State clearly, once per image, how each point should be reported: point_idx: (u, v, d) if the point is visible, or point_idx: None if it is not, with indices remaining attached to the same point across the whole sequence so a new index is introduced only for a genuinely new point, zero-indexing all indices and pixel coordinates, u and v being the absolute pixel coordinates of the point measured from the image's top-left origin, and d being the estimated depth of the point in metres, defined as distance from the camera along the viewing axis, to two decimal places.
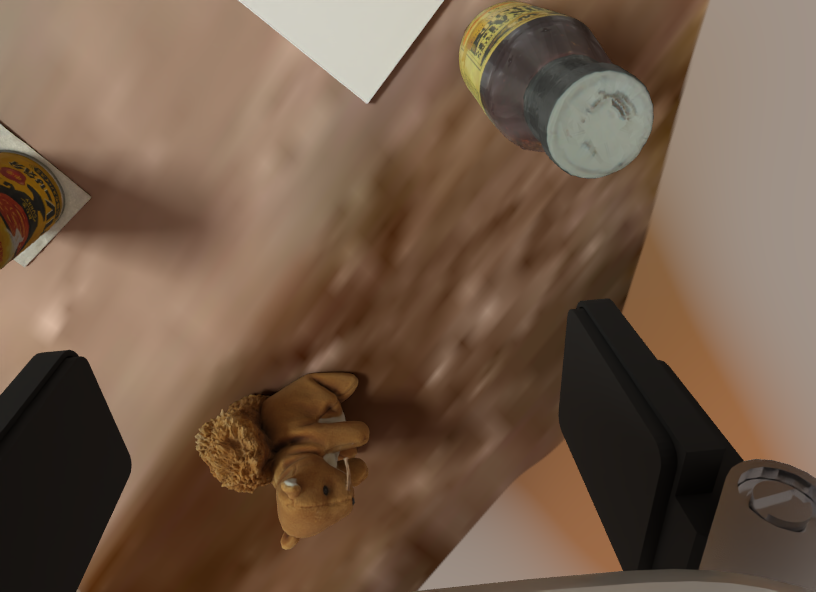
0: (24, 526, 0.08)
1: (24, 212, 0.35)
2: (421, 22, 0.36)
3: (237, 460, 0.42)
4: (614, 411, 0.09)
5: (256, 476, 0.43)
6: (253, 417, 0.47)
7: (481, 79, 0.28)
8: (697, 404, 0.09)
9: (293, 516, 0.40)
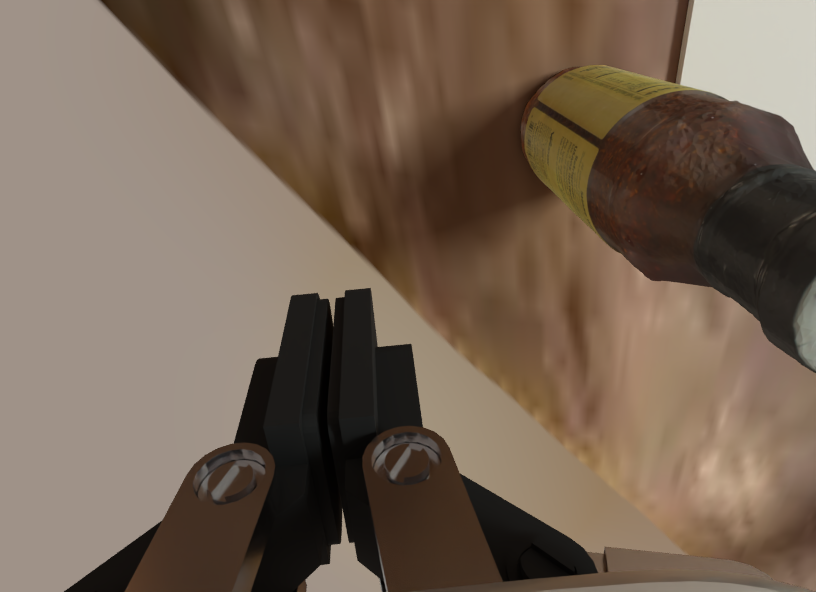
0: (328, 435, 0.09)
1: None
2: (687, 77, 0.28)
3: None
4: None
5: None
6: None
7: None
8: (415, 382, 0.10)
9: None
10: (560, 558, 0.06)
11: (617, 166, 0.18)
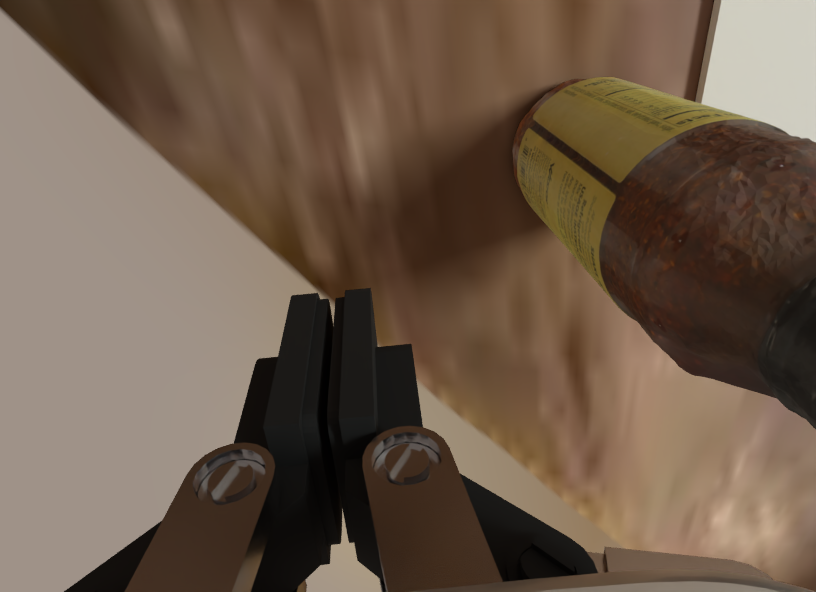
0: (328, 435, 0.09)
1: None
2: (710, 90, 0.23)
3: None
4: None
5: None
6: None
7: None
8: (414, 382, 0.10)
9: None
10: (560, 558, 0.06)
11: (644, 223, 0.13)
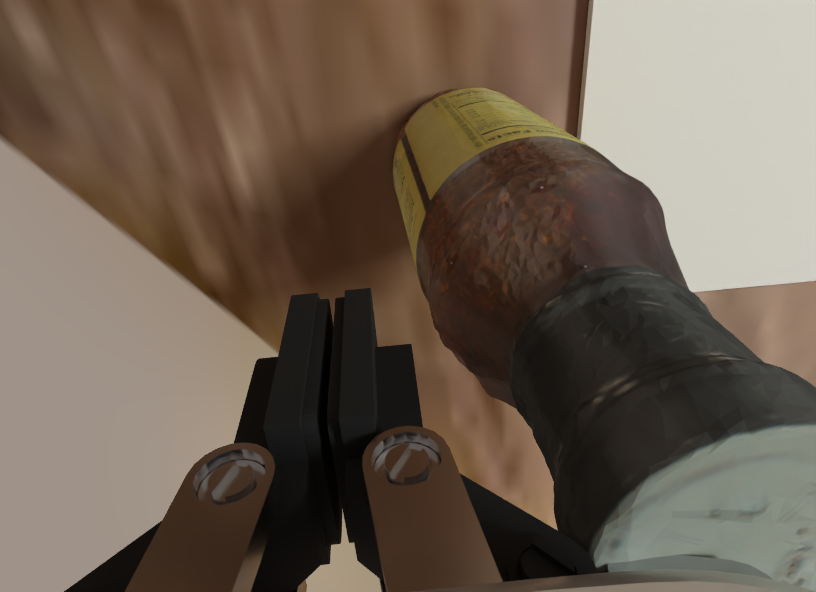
0: (328, 435, 0.09)
1: None
2: (591, 100, 0.23)
3: None
4: None
5: None
6: None
7: None
8: (414, 382, 0.10)
9: None
10: (560, 558, 0.06)
11: (436, 243, 0.13)
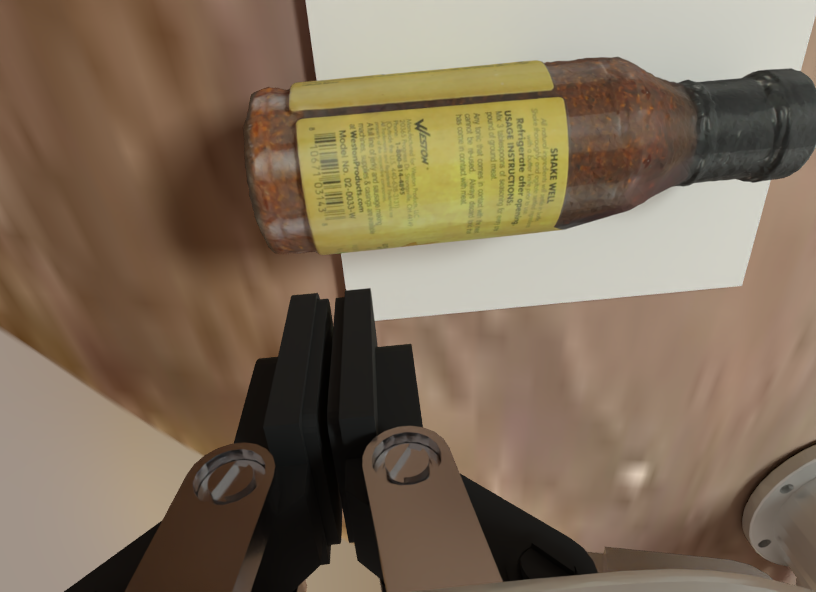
0: (328, 435, 0.09)
1: None
2: None
3: None
4: None
5: None
6: None
7: None
8: (414, 382, 0.10)
9: None
10: (560, 558, 0.06)
11: (608, 98, 0.18)
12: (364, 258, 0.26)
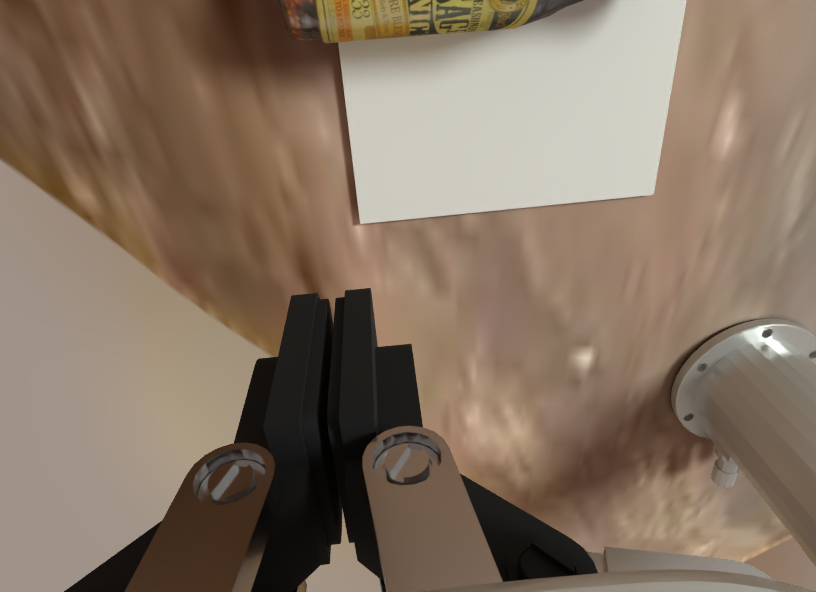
0: (328, 435, 0.09)
1: None
2: (346, 65, 0.32)
3: None
4: None
5: None
6: None
7: None
8: (414, 382, 0.10)
9: None
10: (560, 558, 0.06)
11: None
12: (370, 171, 0.35)
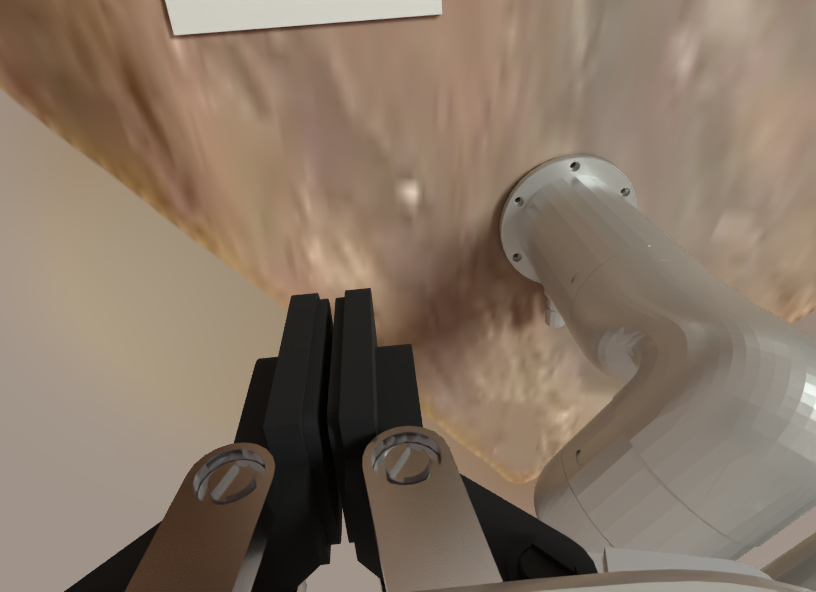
0: (328, 435, 0.09)
1: None
2: None
3: None
4: None
5: None
6: None
7: None
8: (414, 382, 0.10)
9: None
10: (560, 558, 0.06)
11: None
12: None
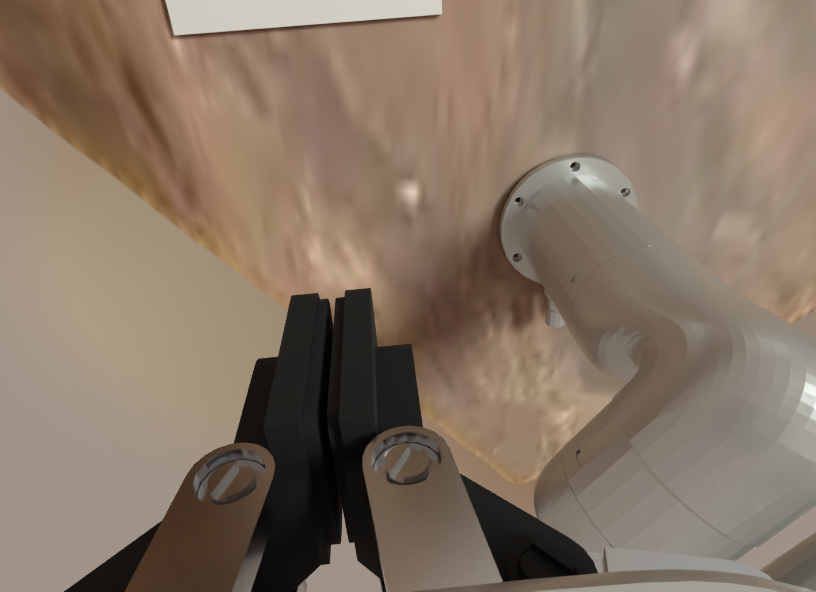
0: (328, 435, 0.09)
1: None
2: None
3: None
4: None
5: None
6: None
7: None
8: (414, 382, 0.10)
9: None
10: (560, 558, 0.06)
11: None
12: None
